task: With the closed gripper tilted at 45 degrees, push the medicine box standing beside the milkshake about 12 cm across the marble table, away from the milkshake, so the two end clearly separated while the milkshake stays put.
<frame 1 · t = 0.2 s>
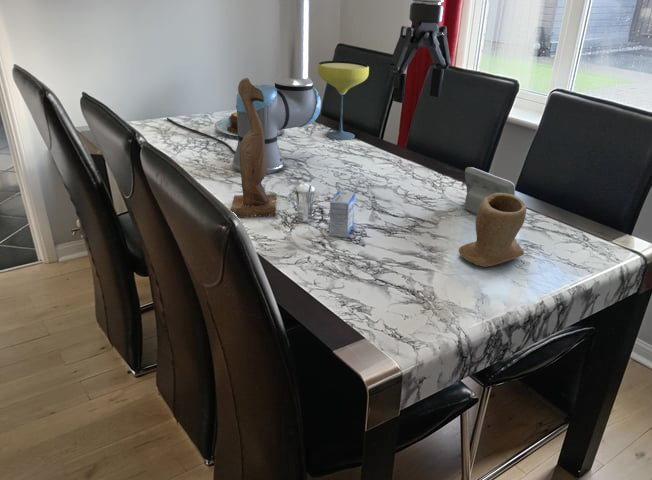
hand: (417, 99, 141), 28 cm above the table, tool pointing down, fingers open, 13 cm apart
medicine box: (341, 231, 138), on the table
food on plate: (250, 132, 213), on the table
bird sculpture: (254, 210, 147), on the table
cocktail glass: (340, 136, 214), on the table
stone cup: (493, 259, 129), on the table
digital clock: (486, 212, 155), on the table
milkshake: (305, 221, 143), on the table
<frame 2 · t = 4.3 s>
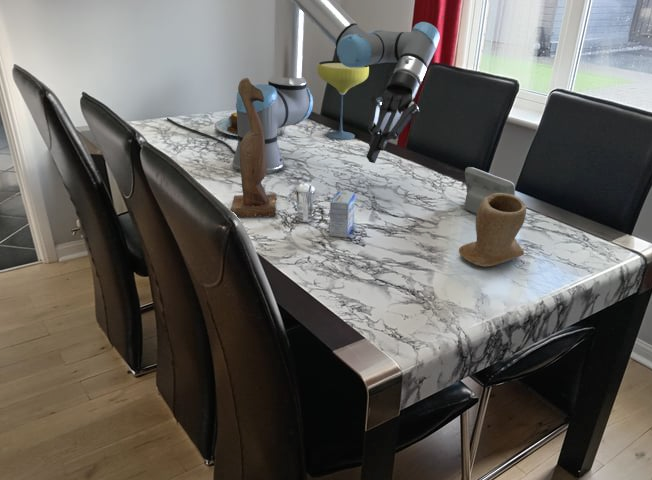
hand: (370, 159, 141), 14 cm above the table, tool tilted 45°, fingers closed
nothing on the table moved.
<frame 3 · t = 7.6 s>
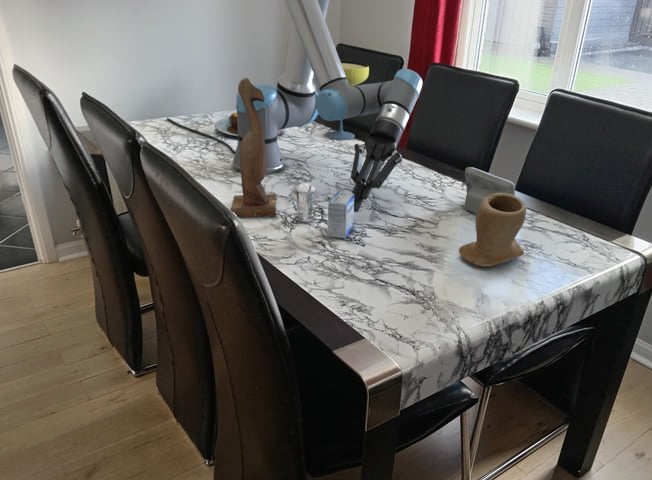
hand: (353, 209, 140), 4 cm above the table, tool tilted 45°, fingers closed
medicine box: (340, 232, 138), on the table, touching gripper
everything else where it was.
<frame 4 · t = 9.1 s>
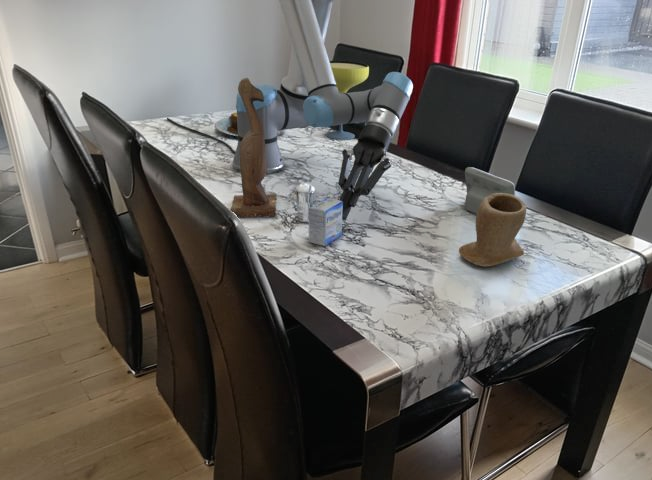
hand: (341, 216, 135), 4 cm above the table, tool tilted 45°, fingers closed
medicine box: (325, 239, 134), on the table, touching gripper
everything else where it was.
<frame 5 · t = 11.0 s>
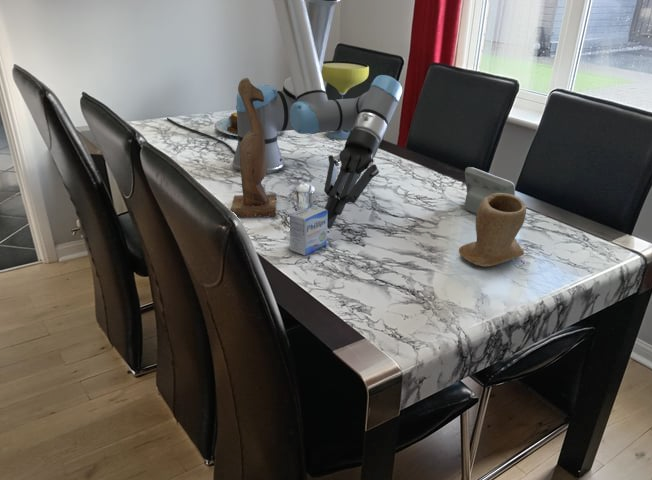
hand: (326, 225, 131), 4 cm above the table, tool tilted 45°, fingers closed
medicine box: (308, 248, 129), on the table, touching gripper
everything else where it was.
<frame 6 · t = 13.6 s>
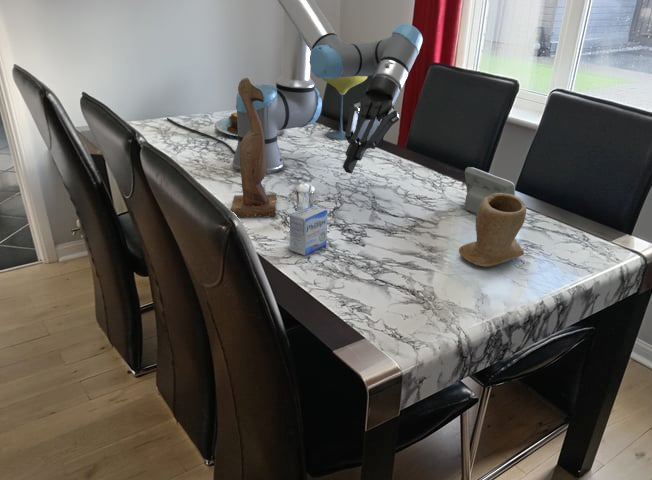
hand: (347, 170, 133), 15 cm above the table, tool tilted 45°, fingers closed
medicine box: (308, 248, 129), on the table
everything else where it was.
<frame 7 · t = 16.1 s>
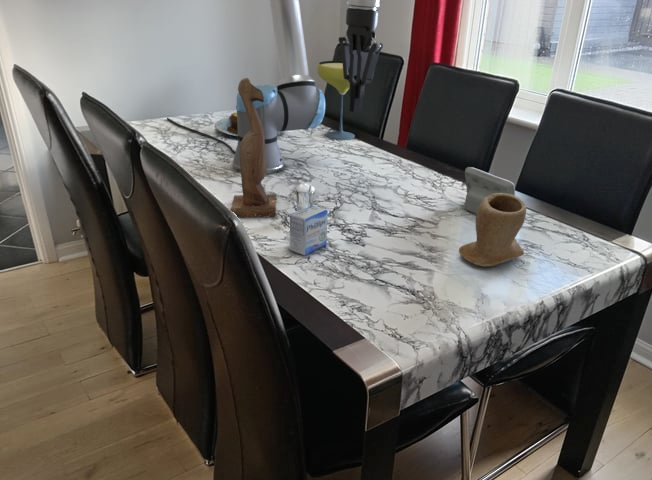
hand: (355, 111, 146), 24 cm above the table, tool pointing down, fingers closed
nothing on the table moved.
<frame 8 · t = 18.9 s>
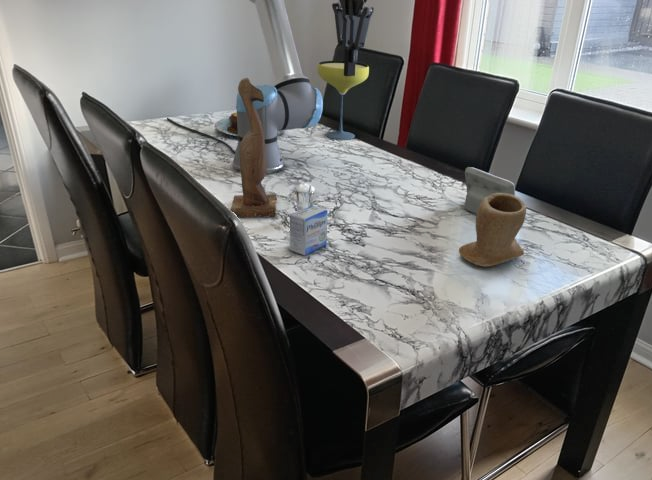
hand: (349, 75, 151), 30 cm above the table, tool pointing down, fingers closed
nothing on the table moved.
at the end: medicine box moved 12.6 cm from its start; medicine box inside the target area (1.4 cm from its centre), on the table; milkshake moved 0.2 cm from its start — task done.
